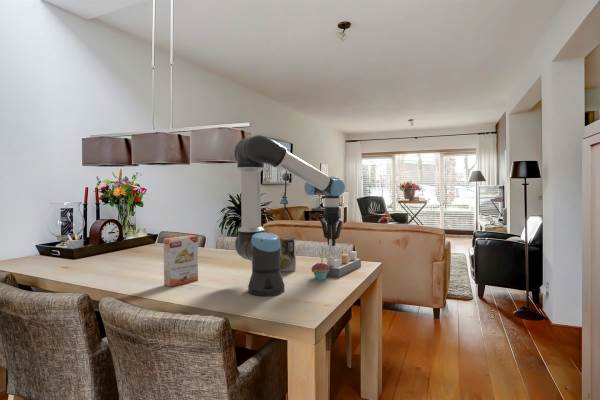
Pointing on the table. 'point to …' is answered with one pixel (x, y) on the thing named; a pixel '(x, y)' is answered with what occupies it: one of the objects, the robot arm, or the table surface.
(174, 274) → the cracker box
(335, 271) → the power bar
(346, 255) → the switch
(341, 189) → the robot arm
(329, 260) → the switch
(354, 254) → the switch
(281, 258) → the coffee box
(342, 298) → the table surface
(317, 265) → the cupcake
